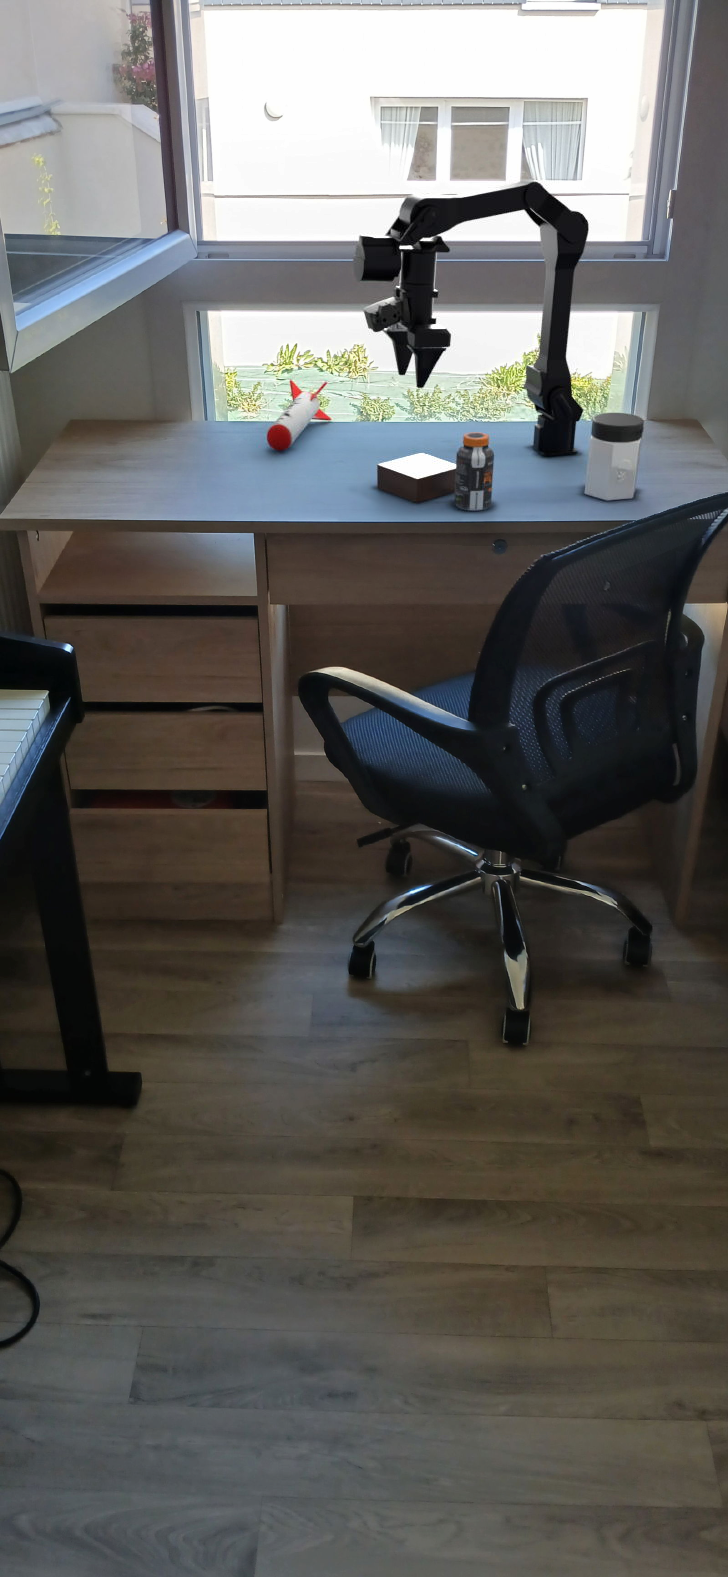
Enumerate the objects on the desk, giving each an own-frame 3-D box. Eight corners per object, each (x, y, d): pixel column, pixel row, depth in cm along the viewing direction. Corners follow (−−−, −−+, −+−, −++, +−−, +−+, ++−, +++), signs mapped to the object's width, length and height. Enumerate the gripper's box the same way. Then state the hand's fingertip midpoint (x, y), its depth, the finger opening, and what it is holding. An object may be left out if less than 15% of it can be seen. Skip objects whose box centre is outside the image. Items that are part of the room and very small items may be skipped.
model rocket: (237, 439, 210) (270, 400, 204) (274, 397, 228) (306, 361, 222) (281, 480, 212) (315, 444, 207) (315, 436, 230) (347, 401, 225)
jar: (594, 502, 186) (602, 427, 180) (575, 486, 193) (582, 413, 187) (645, 498, 188) (655, 423, 182) (625, 482, 195) (633, 410, 188)
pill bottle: (488, 512, 183) (493, 441, 177) (451, 510, 184) (454, 438, 178) (493, 500, 188) (497, 430, 182) (456, 497, 189) (459, 428, 183)
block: (421, 475, 198) (422, 452, 196) (461, 489, 192) (462, 466, 190) (377, 487, 193) (377, 464, 191) (416, 503, 187) (417, 478, 185)
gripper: (352, 272, 192) (349, 369, 200) (388, 291, 177) (383, 395, 186) (415, 272, 195) (409, 368, 204) (455, 291, 180) (447, 393, 189)
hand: (410, 380), depth 195 cm, fingers open, 9 cm apart
